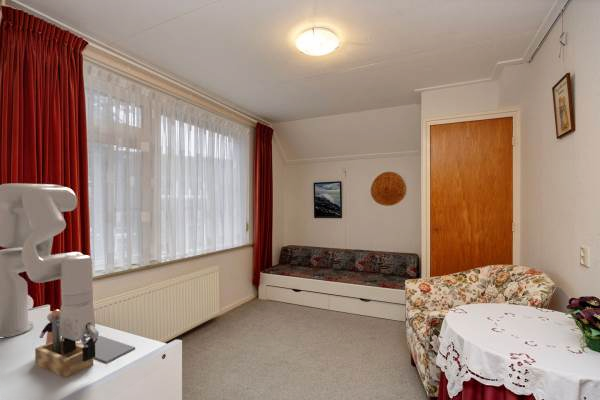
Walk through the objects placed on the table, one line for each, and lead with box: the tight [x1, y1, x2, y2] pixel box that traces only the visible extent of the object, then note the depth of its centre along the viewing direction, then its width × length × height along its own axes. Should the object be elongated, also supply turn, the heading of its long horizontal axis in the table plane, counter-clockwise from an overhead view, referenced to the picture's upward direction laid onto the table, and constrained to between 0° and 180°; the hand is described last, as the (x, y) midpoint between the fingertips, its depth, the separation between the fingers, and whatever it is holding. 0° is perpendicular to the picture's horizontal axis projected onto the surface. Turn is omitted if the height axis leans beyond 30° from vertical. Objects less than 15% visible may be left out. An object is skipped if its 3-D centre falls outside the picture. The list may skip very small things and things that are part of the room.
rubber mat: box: [78, 334, 136, 364], centre depth 102 cm, size 20×10×1 cm, turn 65°
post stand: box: [50, 309, 62, 355], centre depth 94 cm, size 3×3×16 cm
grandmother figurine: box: [39, 311, 53, 345], centre depth 102 cm, size 8×4×13 cm, turn 168°
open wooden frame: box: [34, 337, 94, 379], centre depth 93 cm, size 16×8×5 cm, turn 65°
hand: (79, 355), depth 89 cm, fingers open, 9 cm apart
